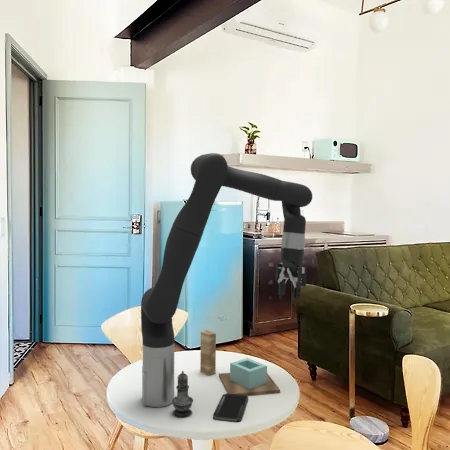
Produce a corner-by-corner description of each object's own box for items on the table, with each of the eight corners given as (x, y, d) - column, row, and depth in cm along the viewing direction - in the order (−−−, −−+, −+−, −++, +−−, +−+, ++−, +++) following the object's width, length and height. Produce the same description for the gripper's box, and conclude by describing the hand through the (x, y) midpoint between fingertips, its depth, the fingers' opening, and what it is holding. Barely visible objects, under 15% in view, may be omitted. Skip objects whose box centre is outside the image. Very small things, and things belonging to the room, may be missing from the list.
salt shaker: (168, 416, 123) (168, 373, 123) (176, 406, 129) (177, 365, 128) (188, 419, 122) (188, 376, 121) (196, 409, 127) (196, 368, 126)
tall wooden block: (208, 375, 151) (208, 334, 151) (200, 371, 155) (200, 331, 154) (215, 373, 153) (215, 333, 152) (207, 369, 157) (207, 330, 156)
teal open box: (249, 389, 139) (249, 371, 138) (230, 379, 146) (230, 363, 145) (266, 382, 144) (267, 365, 143) (247, 374, 151) (247, 358, 150)
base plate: (229, 397, 135) (229, 394, 135) (218, 376, 151) (218, 373, 151) (280, 392, 139) (280, 389, 139) (264, 373, 154) (264, 370, 154)
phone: (212, 416, 122) (223, 393, 136) (212, 420, 122) (223, 397, 136) (241, 419, 120) (249, 395, 135) (240, 424, 120) (249, 399, 135)
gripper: (271, 244, 150) (267, 293, 150) (295, 248, 137) (291, 301, 137) (290, 246, 154) (286, 293, 153) (315, 249, 141) (311, 301, 140)
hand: (288, 297), depth 145 cm, fingers open, 8 cm apart
